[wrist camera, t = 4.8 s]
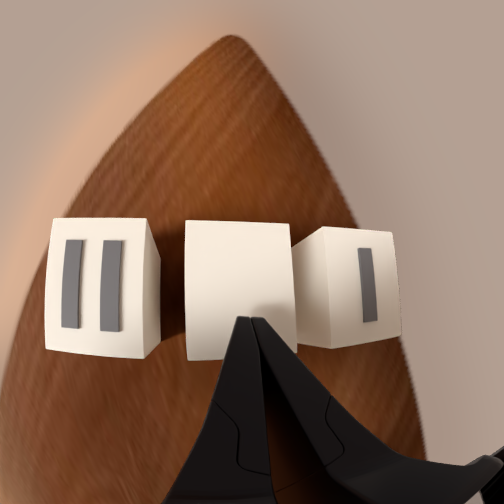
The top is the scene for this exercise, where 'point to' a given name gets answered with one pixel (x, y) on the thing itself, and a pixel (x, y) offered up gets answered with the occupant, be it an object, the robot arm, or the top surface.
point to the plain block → (236, 282)
